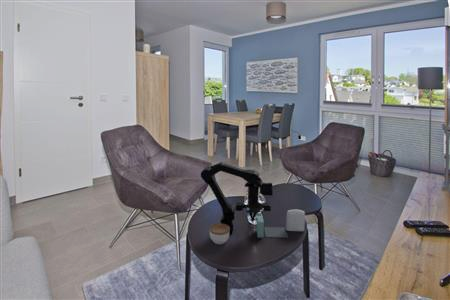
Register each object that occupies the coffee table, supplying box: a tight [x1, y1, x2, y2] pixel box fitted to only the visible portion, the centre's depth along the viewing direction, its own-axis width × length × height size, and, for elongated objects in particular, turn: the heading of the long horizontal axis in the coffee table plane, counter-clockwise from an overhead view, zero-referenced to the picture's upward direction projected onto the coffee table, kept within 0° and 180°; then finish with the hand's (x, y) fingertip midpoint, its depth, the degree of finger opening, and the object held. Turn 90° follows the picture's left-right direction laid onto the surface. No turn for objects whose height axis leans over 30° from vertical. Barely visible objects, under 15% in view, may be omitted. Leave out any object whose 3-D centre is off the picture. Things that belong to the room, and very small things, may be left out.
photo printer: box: [285, 209, 306, 232], centre depth 169 cm, size 10×4×12 cm, turn 86°
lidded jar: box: [208, 222, 230, 245], centre depth 156 cm, size 11×11×9 cm
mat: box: [264, 226, 289, 239], centre depth 167 cm, size 12×11×1 cm
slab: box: [256, 215, 265, 238], centre depth 165 cm, size 3×8×9 cm, turn 179°
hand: (252, 221), depth 164 cm, fingers closed
